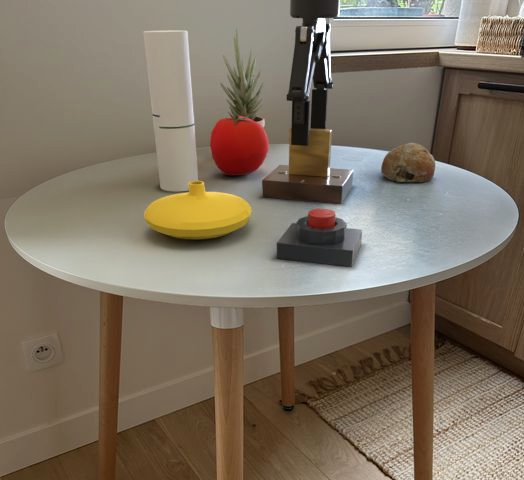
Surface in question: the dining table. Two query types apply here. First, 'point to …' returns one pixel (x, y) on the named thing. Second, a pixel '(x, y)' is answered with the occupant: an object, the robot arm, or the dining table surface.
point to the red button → (321, 218)
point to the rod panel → (307, 185)
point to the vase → (198, 213)
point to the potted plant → (243, 87)
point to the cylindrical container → (172, 107)
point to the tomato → (238, 145)
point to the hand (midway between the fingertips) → (309, 136)
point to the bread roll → (408, 164)
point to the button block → (320, 243)
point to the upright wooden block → (311, 154)
